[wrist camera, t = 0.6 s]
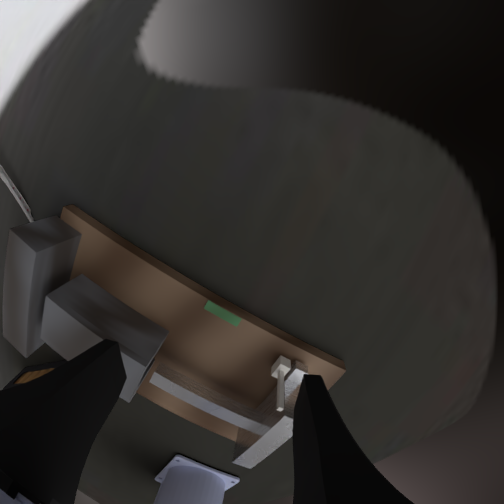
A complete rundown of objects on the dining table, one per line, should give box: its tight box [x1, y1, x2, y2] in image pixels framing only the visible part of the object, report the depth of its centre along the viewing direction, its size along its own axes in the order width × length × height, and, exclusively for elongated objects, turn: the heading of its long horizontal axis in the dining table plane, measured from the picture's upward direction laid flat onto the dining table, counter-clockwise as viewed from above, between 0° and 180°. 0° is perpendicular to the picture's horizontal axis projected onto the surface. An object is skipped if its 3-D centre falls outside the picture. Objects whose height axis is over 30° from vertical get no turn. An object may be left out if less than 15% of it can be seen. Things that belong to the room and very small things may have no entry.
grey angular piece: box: [149, 360, 308, 469], centre depth 18 cm, size 10×9×4 cm
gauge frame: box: [3, 204, 346, 441], centre depth 18 cm, size 24×12×6 cm, turn 60°
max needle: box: [271, 356, 291, 412], centre depth 17 cm, size 1×1×5 cm
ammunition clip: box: [3, 360, 68, 390], centre depth 19 cm, size 11×2×12 cm, turn 112°
